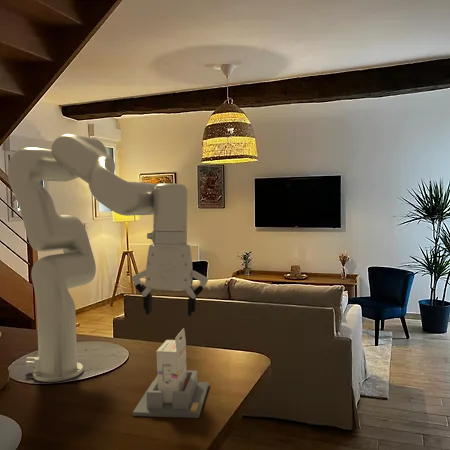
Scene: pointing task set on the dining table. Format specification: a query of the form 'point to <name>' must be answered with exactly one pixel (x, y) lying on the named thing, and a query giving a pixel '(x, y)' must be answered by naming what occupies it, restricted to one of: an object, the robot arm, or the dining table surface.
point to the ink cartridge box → (172, 366)
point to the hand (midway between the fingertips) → (169, 313)
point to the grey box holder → (174, 400)
